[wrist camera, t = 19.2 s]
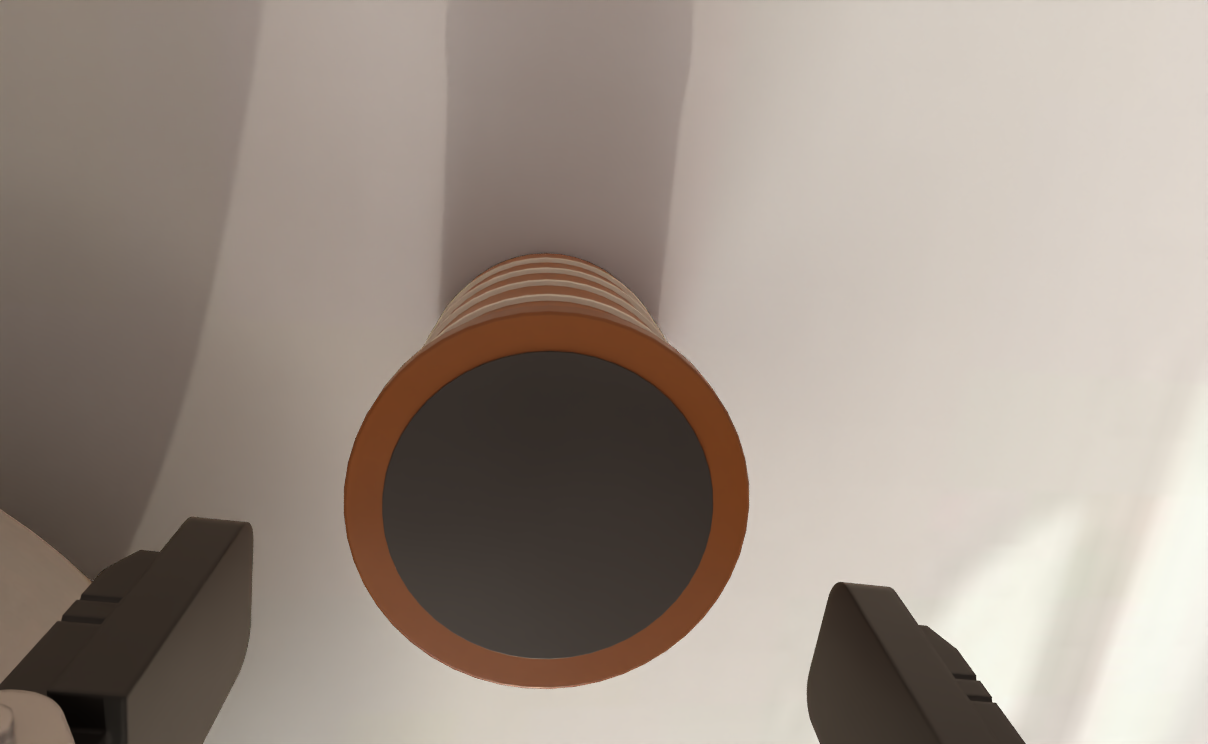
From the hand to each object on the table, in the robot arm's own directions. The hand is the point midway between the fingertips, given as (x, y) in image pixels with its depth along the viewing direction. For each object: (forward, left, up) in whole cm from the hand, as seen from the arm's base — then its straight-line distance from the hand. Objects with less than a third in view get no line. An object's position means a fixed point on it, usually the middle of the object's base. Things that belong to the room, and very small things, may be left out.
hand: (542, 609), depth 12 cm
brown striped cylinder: (-3, +2, -7) cm, 8 cm away
